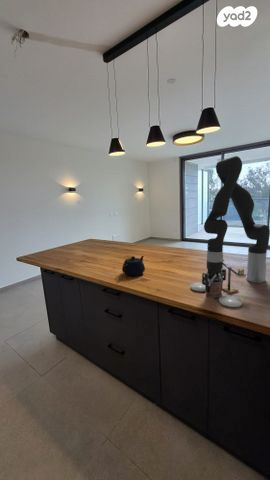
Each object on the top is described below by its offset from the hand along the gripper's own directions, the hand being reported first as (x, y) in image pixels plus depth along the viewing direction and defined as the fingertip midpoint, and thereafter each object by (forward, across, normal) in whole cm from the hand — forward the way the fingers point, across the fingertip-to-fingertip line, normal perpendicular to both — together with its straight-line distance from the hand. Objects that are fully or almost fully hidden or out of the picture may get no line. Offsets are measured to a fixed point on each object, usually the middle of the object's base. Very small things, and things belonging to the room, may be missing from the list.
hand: (213, 290), depth 108 cm
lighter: (+3, 0, 0) cm, 3 cm away
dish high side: (+3, 0, -10) cm, 10 cm away
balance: (+3, -11, 0) cm, 11 cm away
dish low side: (+3, 0, +10) cm, 10 cm away
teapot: (+3, +19, -53) cm, 56 cm away
